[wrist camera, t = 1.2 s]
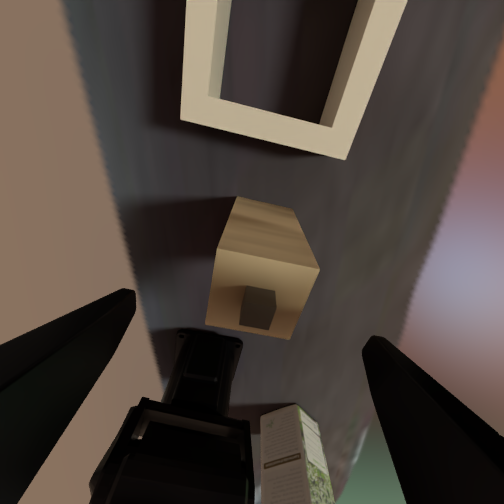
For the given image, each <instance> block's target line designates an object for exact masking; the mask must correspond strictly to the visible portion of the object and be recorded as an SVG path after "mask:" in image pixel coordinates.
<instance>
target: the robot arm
mask: <svg viewBox="0 0 504 504" xmlns="http://www.w3.org/2000/svg"><path fill="white" fill-rule="evenodd" d="M135 311H136V293H135V291H134V290H130V289H125V288H122V289H120V290H117V291H115V292H113V293H111V294H109V295H107V296H105V297H102V298H100V299H98V300H96V301H94V302H92V303H90V304H88V305H85V306H83V307H81V308H79V309H77V310H74V311H72V312H70V313H68V314H66V315H64V316H62V317H59V318H57V319H55V320H53V321H51V322H49V323H47V324H44V325H42V326H40V327H38V328H36V329H34V330H31V331H29V332H27V333H25V334H23V335H21V336H19V337H16V338H14V339H12V340H10V341H8V342H6V343H4V344H1V345H0V504H17V503H18V501H19V500H20V498H21V497H22V496H23V494H24V492H25V491H26V489H27V488H28V486H29V485H30V483H31V482H32V480H33V479H34V477H35V475H36V474H37V472H38V471H39V469H40V468H41V466H42V465H43V463H44V462H45V460H46V458H47V457H48V455H49V454H50V452H51V451H52V449H53V448H54V446H55V444H56V443H57V441H58V440H59V438H60V437H61V435H62V434H63V432H64V431H65V429H66V428H67V426H68V425H69V423H70V421H71V420H72V418H73V417H74V415H75V414H76V412H77V411H78V409H79V408H80V406H81V404H82V403H83V401H84V400H85V398H86V397H87V395H88V394H89V392H90V391H91V389H92V387H93V386H94V384H95V383H96V381H97V380H98V378H99V377H100V375H101V373H102V372H103V370H104V369H105V367H106V366H107V364H108V363H109V361H110V359H111V358H112V356H113V355H114V353H115V351H116V349H117V347H118V345H119V343H120V341H121V339H122V338H123V336H124V334H125V332H126V330H127V328H128V326H129V324H130V322H131V320H132V318H133V316H134V314H135ZM237 344H238V345H237ZM242 348H243V342H242V341H241V340H239V339H234V338H228V337H222V336H217V335H211V334H206V333H200V332H194V331H189V330H182V329H181V330H179V331H178V333H177V335H176V348H175V361H174V368H173V371H172V373H171V376H170V379H169V381H168V384H167V387H166V389H165V392H164V395H163V397H162V400H161V402H157V401H153V400H149V398H146V397H142V398H141V400H140V402H139V404H138V406H134V407H131V408H130V410H129V412H128V414H127V416H126V418H125V420H124V422H123V425H122V427H121V428H120V430H119V432H118V434H117V436H116V437H115V439H114V441H113V442H112V444H111V446H110V447H109V449H108V450H107V452H106V454H105V455H104V457H103V459H102V460H101V462H100V463H99V465H98V467H97V468H96V470H95V472H94V474H93V476H92V477H91V480H90V482H89V488H90V492H91V500H90V503H89V504H254V500H255V485H254V471H253V459H252V446H251V434H250V422H249V421H248V420H237V419H233V418H228V410H229V401H230V393H231V384H232V381H233V378H234V375H235V371H236V368H237V365H238V361H239V358H240V354H241V351H242ZM362 357H363V362H364V366H365V370H366V375H367V379H368V383H369V388H370V392H371V396H372V399H373V403H374V406H375V409H376V412H377V415H378V418H379V421H380V424H381V427H382V430H383V433H384V436H385V439H386V442H387V445H388V448H389V452H390V455H391V458H392V461H393V464H394V467H395V470H396V473H397V476H398V479H399V482H400V485H401V488H402V491H403V494H404V497H405V501H406V504H504V437H503V436H501V435H499V434H498V432H496V431H495V430H494V429H493V428H492V427H491V426H490V425H488V424H487V423H486V422H485V421H484V420H482V419H481V418H480V417H479V416H478V415H476V414H475V413H474V412H473V411H472V410H470V409H469V408H468V407H467V406H466V405H464V404H463V403H462V402H461V401H460V400H458V399H457V398H456V397H455V396H454V395H452V394H451V393H450V392H449V391H448V390H446V389H445V388H444V387H443V386H442V385H440V384H439V383H438V382H437V381H436V380H435V379H433V378H432V377H431V376H430V375H429V374H427V373H426V372H425V371H424V370H422V369H421V368H420V367H419V366H418V365H416V364H415V363H414V362H413V361H412V360H411V359H409V358H408V357H407V356H406V355H405V354H403V353H402V352H401V351H400V350H399V349H398V348H396V347H395V346H394V345H393V344H392V343H390V342H389V341H388V340H387V339H386V338H384V337H381V336H375V335H373V336H371V337H370V339H369V340H368V341H367V343H366V344H365V346H364V347H363V349H362ZM139 436H142V439H138V437H139Z"/></svg>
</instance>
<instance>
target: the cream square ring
mask: <svg viewBox="0 0 504 504" xmlns="http://www.w3.org/2000/svg"><path fill="white" fill-rule="evenodd" d="M231 1H232V0H187V2H186V21H185V39H184V58H183V77H182V96H181V115H180V119H181V120H185V121H189V122H193V123H197V124H201V125H205V126H209V127H213V128H217V129H221V130H225V131H229V132H233V133H237V134H241V135H245V136H249V137H253V138H257V139H262V140H266V141H270V142H274V143H278V144H282V145H286V146H290V147H294V148H298V149H302V150H306V151H310V152H314V153H318V154H322V155H326V156H330V157H334V158H339V159H343V160H346V157H347V154H348V152H349V149H350V147H351V144H352V142H353V139H354V136H355V134H356V131H357V129H358V126H359V124H360V121H361V119H362V116H363V113H364V111H365V108H366V106H367V103H368V101H369V98H370V95H371V93H372V90H373V88H374V85H375V83H376V80H377V77H378V75H379V72H380V70H381V67H382V65H383V62H384V59H385V57H386V54H387V52H388V49H389V47H390V44H391V41H392V39H393V36H394V34H395V31H396V29H397V26H398V23H399V21H400V18H401V16H402V13H403V11H404V8H405V5H406V3H407V0H358V2H357V5H356V8H355V11H354V15H353V18H352V21H351V24H350V27H349V30H348V34H347V37H346V40H345V43H344V46H343V50H342V53H341V56H340V59H339V62H338V66H337V69H336V72H335V75H334V78H333V81H332V85H331V88H330V91H329V94H328V97H327V101H326V104H325V107H324V110H323V113H322V117H321V120H320V123H319V124H315V123H311V122H307V121H303V120H299V119H295V118H291V117H288V116H284V115H280V114H276V113H272V112H268V111H264V110H260V109H256V108H252V107H249V106H245V105H241V104H237V103H233V102H229V101H225V100H221V99H220V91H221V83H222V75H223V66H224V58H225V50H226V42H227V34H228V25H229V17H230V9H231Z"/></svg>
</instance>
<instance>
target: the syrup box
mask: <svg viewBox="0 0 504 504" xmlns="http://www.w3.org/2000/svg"><path fill="white" fill-rule="evenodd" d="M260 425H261V503H262V504H335V501H334V497H333V492H332V487H331V483H330V478H329V473H328V468H327V464H326V459H325V454H324V449H323V445H322V440H321V435H320V431H319V426H318V423H317V422H316V421H315V420H313V419H312V418H311V417H310V416H309V415H308V414H307V413H306V412H305V411H304V410H302V409H301V408H300V407H299V406H298V405H297V404H294V405H291V406H287V407H284V408H281V409H278V410H275V411H272V412H270V413H267V414H265V415H262V416H261V418H260Z"/></svg>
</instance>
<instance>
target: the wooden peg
mask: <svg viewBox="0 0 504 504" xmlns="http://www.w3.org/2000/svg"><path fill="white" fill-rule="evenodd" d="M319 271H320V268H319V266H318V264H317V262H316V260H315V257H314V255H313V253H312V251H311V249H310V246H309V244H308V242H307V240H306V238H305V235H304V233H303V231H302V229H301V227H300V224H299V222H298V220H297V218H296V216H295V213H294V211H293V209H291V208H286V207H282V206H278V205H273V204H269V203H264V202H260V201H255V200H251V199H247V198H242V197H238V196H237V198H236V200H235V203H234V206H233V208H232V211H231V213H230V216H229V219H228V221H227V224H226V226H225V229H224V232H223V234H222V237H221V239H220V242H219V245H218V247H217V252H216V258H215V264H214V271H213V277H212V283H211V290H210V296H209V302H208V308H207V315H206V321H205V325H211V326H216V327H222V328H228V329H233V330H239V331H244V332H250V333H255V334H261V335H266V336H272V337H278V338H283V339H289V340H290V337H291V335H292V333H293V330H294V328H295V326H296V324H297V321H298V319H299V317H300V314H301V312H302V310H303V307H304V305H305V303H306V300H307V298H308V296H309V294H310V291H311V289H312V287H313V284H314V282H315V280H316V277H317V275H318V273H319Z"/></svg>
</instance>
